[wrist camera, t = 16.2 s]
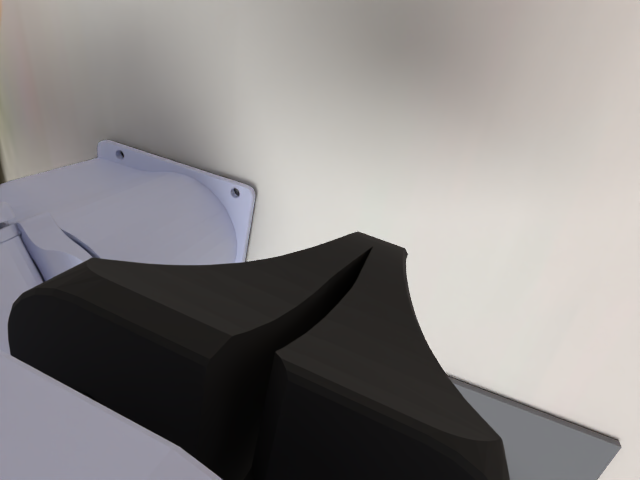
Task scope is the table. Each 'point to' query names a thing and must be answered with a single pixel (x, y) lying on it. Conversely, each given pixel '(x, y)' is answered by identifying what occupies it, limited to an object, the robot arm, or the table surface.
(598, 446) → the drawing mat
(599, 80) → the table surface
